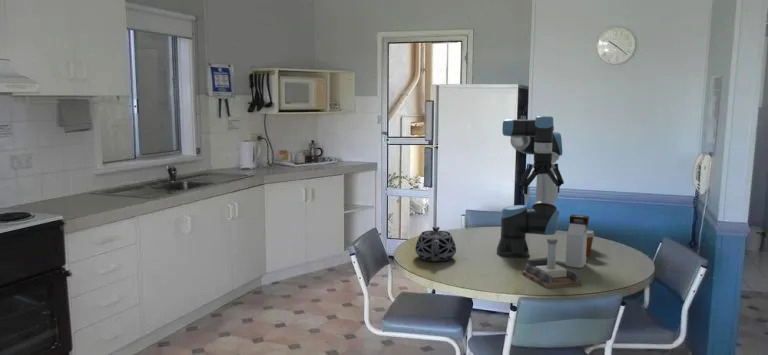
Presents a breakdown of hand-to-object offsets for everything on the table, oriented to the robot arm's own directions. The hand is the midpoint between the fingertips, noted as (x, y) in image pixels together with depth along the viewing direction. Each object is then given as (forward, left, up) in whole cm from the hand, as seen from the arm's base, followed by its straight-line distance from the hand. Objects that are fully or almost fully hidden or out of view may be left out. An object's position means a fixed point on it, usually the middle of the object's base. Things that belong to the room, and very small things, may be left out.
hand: (541, 201), depth 271 cm
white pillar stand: (+14, -2, -29) cm, 32 cm away
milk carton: (-2, +20, -31) cm, 37 cm away
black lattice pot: (-31, -37, -31) cm, 57 cm away
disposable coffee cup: (-16, +33, -31) cm, 48 cm away
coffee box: (-31, +40, -31) cm, 59 cm away
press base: (+14, -2, -31) cm, 34 cm away
